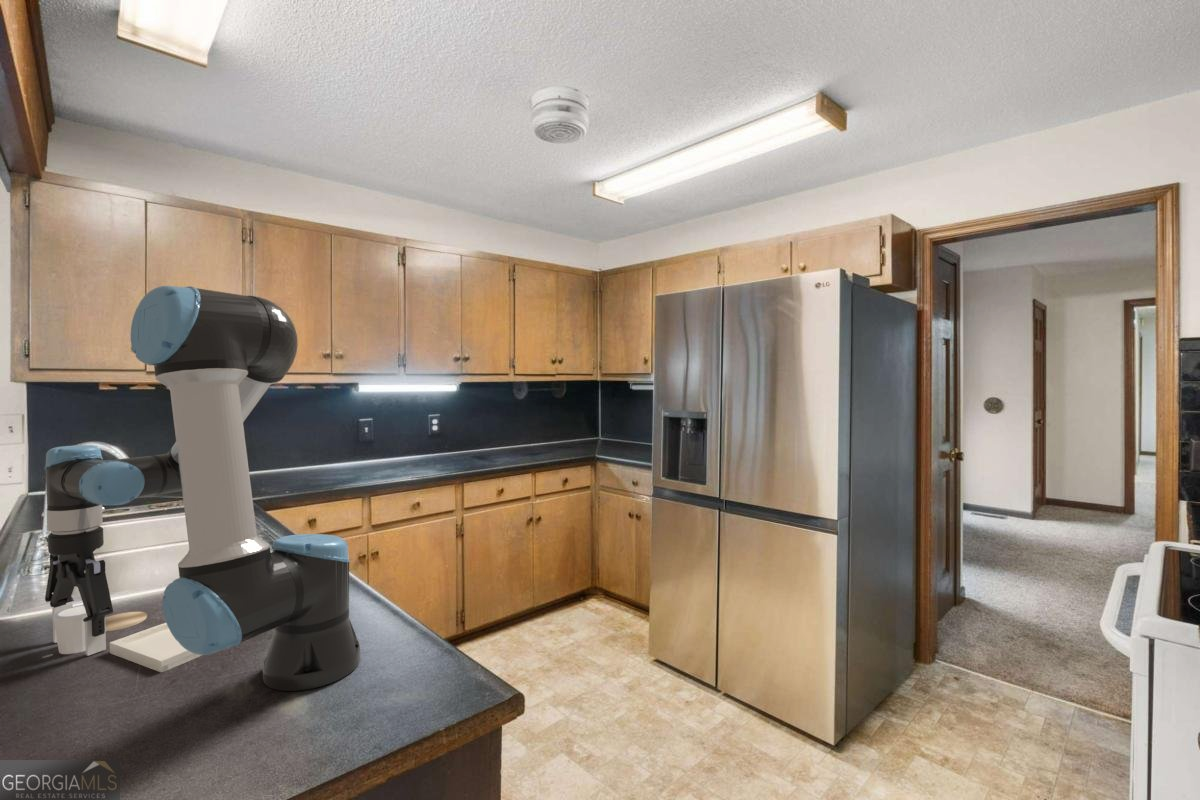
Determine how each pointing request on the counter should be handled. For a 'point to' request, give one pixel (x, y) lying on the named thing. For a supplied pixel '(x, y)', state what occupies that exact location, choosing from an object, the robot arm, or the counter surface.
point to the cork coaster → (124, 620)
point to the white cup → (70, 629)
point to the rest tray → (152, 649)
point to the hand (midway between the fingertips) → (79, 645)
